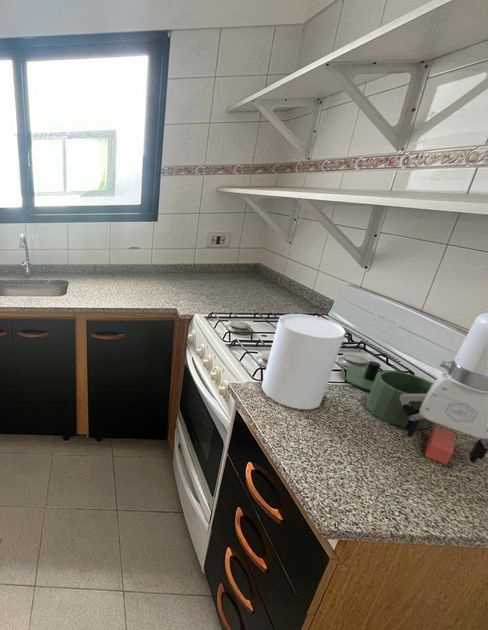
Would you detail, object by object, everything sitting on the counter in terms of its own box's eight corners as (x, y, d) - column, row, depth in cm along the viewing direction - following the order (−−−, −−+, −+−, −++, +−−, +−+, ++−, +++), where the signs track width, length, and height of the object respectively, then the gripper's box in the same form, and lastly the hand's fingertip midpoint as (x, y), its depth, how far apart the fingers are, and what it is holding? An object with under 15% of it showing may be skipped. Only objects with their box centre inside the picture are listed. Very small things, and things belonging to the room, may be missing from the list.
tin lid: (392, 377, 98) (400, 359, 95) (401, 400, 88) (410, 381, 86) (338, 365, 104) (344, 348, 101) (341, 386, 94) (348, 367, 92)
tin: (421, 408, 85) (435, 379, 82) (434, 436, 77) (451, 405, 73) (363, 393, 91) (374, 365, 88) (369, 418, 82) (381, 388, 79)
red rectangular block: (428, 437, 76) (434, 425, 75) (449, 445, 74) (455, 433, 73) (424, 456, 72) (430, 444, 70) (446, 465, 69) (453, 453, 68)
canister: (251, 379, 97) (267, 315, 89) (296, 376, 98) (316, 312, 90) (283, 411, 85) (304, 339, 77) (334, 407, 86) (360, 336, 78)
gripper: (413, 365, 69) (382, 432, 76) (554, 406, 57) (502, 481, 64) (418, 352, 74) (388, 416, 81) (550, 388, 62) (502, 460, 69)
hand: (439, 445), depth 72 cm, fingers open, 9 cm apart
